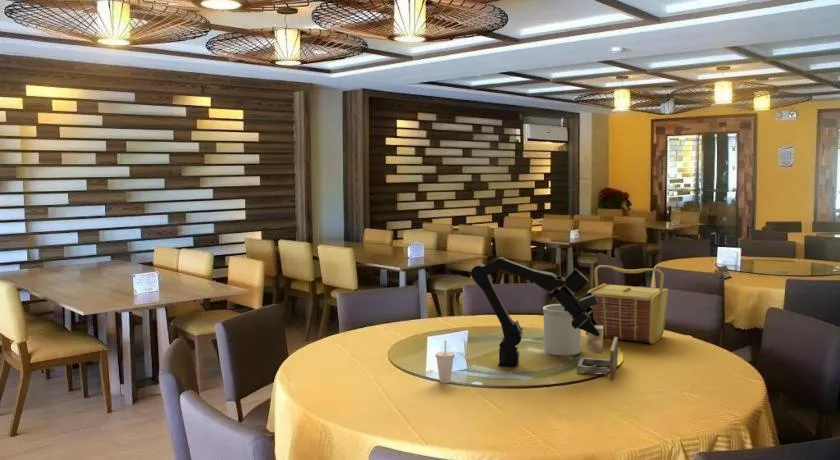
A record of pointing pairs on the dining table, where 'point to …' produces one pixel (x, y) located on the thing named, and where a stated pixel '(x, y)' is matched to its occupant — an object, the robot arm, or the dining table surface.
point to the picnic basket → (630, 309)
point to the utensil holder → (560, 332)
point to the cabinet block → (595, 341)
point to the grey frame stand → (601, 362)
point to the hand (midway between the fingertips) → (599, 333)
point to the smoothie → (445, 365)
